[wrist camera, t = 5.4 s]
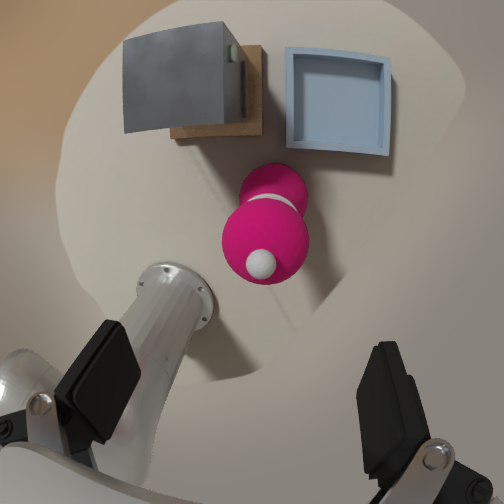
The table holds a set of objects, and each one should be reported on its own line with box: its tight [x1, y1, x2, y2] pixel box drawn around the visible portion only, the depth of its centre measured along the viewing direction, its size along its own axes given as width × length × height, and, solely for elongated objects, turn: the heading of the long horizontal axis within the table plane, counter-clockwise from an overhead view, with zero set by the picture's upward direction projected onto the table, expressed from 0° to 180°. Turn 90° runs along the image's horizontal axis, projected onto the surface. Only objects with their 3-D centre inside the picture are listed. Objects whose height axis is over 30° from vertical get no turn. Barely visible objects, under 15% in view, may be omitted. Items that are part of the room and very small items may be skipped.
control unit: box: [123, 21, 263, 139], centre depth 23 cm, size 11×11×14 cm
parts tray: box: [285, 47, 391, 156], centre depth 27 cm, size 12×12×3 cm
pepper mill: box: [222, 163, 309, 285], centre depth 25 cm, size 7×7×20 cm
